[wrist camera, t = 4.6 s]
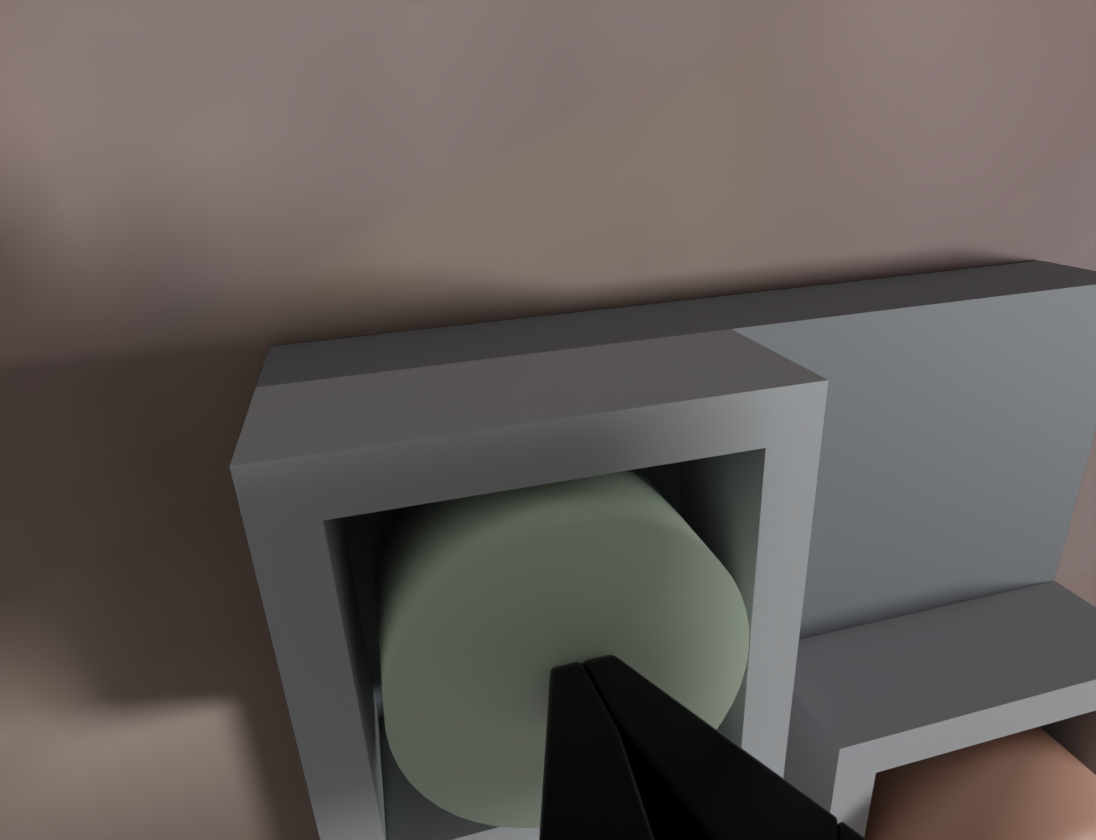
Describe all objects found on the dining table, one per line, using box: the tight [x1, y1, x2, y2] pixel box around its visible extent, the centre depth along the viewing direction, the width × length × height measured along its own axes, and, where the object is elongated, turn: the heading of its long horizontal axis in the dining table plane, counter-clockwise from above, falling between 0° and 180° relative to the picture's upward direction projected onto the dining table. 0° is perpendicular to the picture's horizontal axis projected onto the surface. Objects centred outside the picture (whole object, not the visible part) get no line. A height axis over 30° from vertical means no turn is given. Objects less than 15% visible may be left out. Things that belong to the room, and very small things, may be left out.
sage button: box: [375, 469, 749, 828], centre depth 10 cm, size 5×5×2 cm
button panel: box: [229, 261, 1096, 840], centre depth 15 cm, size 15×21×4 cm
